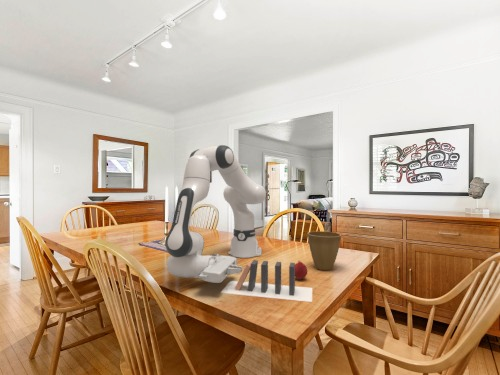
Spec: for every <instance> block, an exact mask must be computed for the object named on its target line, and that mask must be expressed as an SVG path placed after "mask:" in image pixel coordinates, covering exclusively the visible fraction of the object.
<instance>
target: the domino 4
mask: <svg viewBox="0 0 500 375" xmlns="http://www.w3.org/2000/svg"><path fill="white" fill-rule="evenodd" d="M295 264H296V263H295V262H289V267H288V279H289V280H288V283H289V284H288V286H289V295H292V296H294V292H295V286H296V277H295Z"/></svg>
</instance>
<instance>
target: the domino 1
mask: <svg viewBox="0 0 500 375" xmlns="http://www.w3.org/2000/svg"><path fill="white" fill-rule="evenodd" d="M251 262H252V263H251V267H250V271H249V274H248V275H249V276H248V282H249V284H248V291H251V292H252V291H253V289H254V287H255V283H257V282H256V281H257V272H258V264H259V260H257V259H253V260H252V261H251Z"/></svg>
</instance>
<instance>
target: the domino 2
mask: <svg viewBox="0 0 500 375" xmlns="http://www.w3.org/2000/svg"><path fill="white" fill-rule="evenodd" d="M260 271H261V272H260V283H261V293H266V291H267V289H268V284H269V261H268V260H263V261H262V263H261V264H260Z"/></svg>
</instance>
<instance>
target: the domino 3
mask: <svg viewBox="0 0 500 375" xmlns="http://www.w3.org/2000/svg"><path fill="white" fill-rule="evenodd" d="M274 285H275V294H280V291H281V285H282V261H276V263H275V266H274Z"/></svg>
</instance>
